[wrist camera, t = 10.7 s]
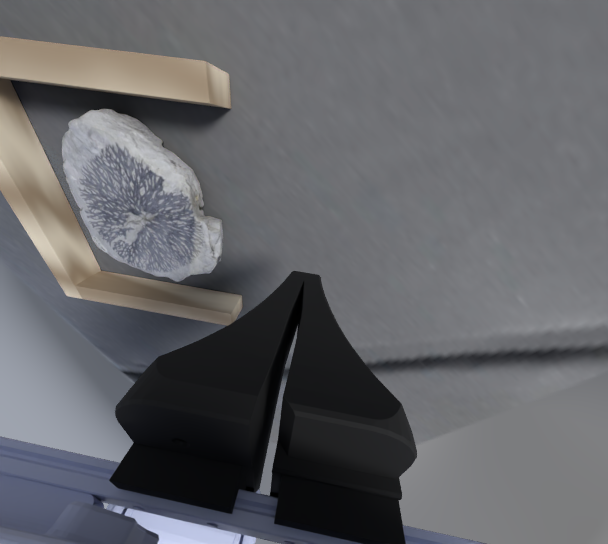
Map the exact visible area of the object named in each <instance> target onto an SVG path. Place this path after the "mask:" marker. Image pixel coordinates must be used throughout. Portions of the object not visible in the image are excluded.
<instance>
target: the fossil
mask: <svg viewBox="0 0 608 544" xmlns="http://www.w3.org/2000/svg"><path fill="white" fill-rule="evenodd" d="M68 126H69V130H68V131H67V132H66V133H65V134H64V136H63V138H62V155H63V161H64V164H63V170H64V172H65V174H66V176H67V177H66V180H67V182H68V184H69V186H70V191H71V193H72V195H73V196H74V198H75V201H76V203H77V205H78V206H79V208H80V209H81V210H80V214H81V217H82V219H83V221H84V223H85V225H86V226H87V228H88V230H89V232H90V234H91V237H92V239H93V241H94V242H95V244H96V245H97V247H98V248H100V249H101V250H102V251H104V252H106V253H108V254H109V255H110V256H111V257H113V258H114V259H116V260H118V261H119V262H122V263H126V264H128V265H130V266H131V267H134V268H138V269H140V270H142V271H144V272H146V273H150V274H152V275H154V276H157V277H161V276H163V277H168V278H170V279H172V280H174V281H176V282H179V281H182V280H184V279H185V278H186V277H188V276H190V275H197V274H204V273H208V274H209V273H211V272H212V271H213V269H214V268H215V267H216V265H217V263H218V262H220V261H221V254H222V247H223V229H222V220H221V219H218V218H214V217H211V216H205V215H204V212H203V210H202V208H203V206H204V202H203V200H202V197H203V195H202V191H201V189H200V183H199V181H198V179H197V177H196V175H195V173H194V171H193V170H192V169H191V168H190V167H189V166H188V165H187V164H185V163H184V162H183V161H182V160H181V159H180V158H179V157H178V156H177V155H175V154H174V153H173V152H171V151H170V150H168V149H166V148H163V146H162V144H163V141H162V140H161V139H160V138H158V137H157V136H155V135H154V134H153V133H152V132H151V131H150V130H149V129H148V128H147V126H146V125H144V124H143V123H141V122H140V121H139V120H138V119H136V118H133V117H130V116H128V115H127V114H119V113H117V112H115V111H114V110H112V109H100V110H90V111H88V112H87V113H85V114H84V115H82V116H81V117H79V118H78V119H73V120H71V121H70V122H69V124H68Z"/></svg>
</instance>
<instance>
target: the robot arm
mask: <svg viewBox="0 0 608 544" xmlns="http://www.w3.org/2000/svg"><path fill="white" fill-rule="evenodd" d="M297 326H298V332H297V339H296V344H295V348H294V353H293V357H292V361H291V366H290V370H289V374H288V378H287V382H286V387H285V391H284V395H283V401H282V410H281V419H280V427H279V436H278V442H277V448H276V453H275V458H274V463H273V469H272V482H271V492H270V496H268V495H263V494H261V493H260V490H259V488H260V483H261V477H262V473H263V467H264V463H265V458H266V453H267V448H268V443H269V438H270V433H271V428H272V424H273V419H274V414H275V409H276V404H277V400H278V395H279V390H280V386H281V381H282V376H283V372H284V368H285V364H286V361H287V358H288V354H289V351H290V348H291V345H292V342H293V339H294V335H295V332H296V329H297ZM115 414H116V418H117V420H118V422H119V423H120V425H121V426H122V427H123V429H124V430H125V431H126V433H127V434H128V435H129V437H130V438H131V439H132V441H133V442H134V443H133V445H132V446H131V448H130V449H129V451H128V452H127V454H126V455H125V457H124V458H123V460H122V461H121V463H118V462H114V461H109V460H105V459H100V458H95V457H90V456H86V455H82V454H77V453H73V452H68V451H64V450H59V449H54V448H50V447H45V446H41V445H36V444H31V443H27V442H22V441H18V440H14V439H9V438H5V437H0V544H255V541H256V538H260V539H264V540H268V541H273V542H277V543H281V544H486V543H481V542H476V541H473V540H468V539H463V538H459V537H454V536H450V535H445V534H441V533H436V532H431V531H427V530H423V529H417V528H413V527H409V526H404V525H403V524H402V519H401V513H400V507H399V501H398V500H401V499H402V492H401V486H400V481H399V477H400V476H401V475H402V474H403V473H404V472H405V471H406V470H407V469H408V468H409V467H410V466H411V465H412V464H413V462H414V461H415V459H416V458H417V450H416V446H415V442H414V438H413V434H412V431H411V428H410V425H409V422H408V420H407V417H406V414H405V412H404V409H403V406H402V404H401V403H400V402H399V401H398V400H397V399H396V398H395V397H394V395H393V394H392V393H391V392H390V391H389V390H388V389H387V388H386V387H385V386H384V385H383V384H382V383H381V382H380V381H379V380H378V379H377V378H376V377H375V375H374V374H373V373H372V372H371V371H370V369H369V368H368V367H367V366H366V365H365V363H364V362H363V361H362V359H361V358H360V357H359V355H358V354H357V353H356V351H355V350H354V349H353V347H352V346H351V345H350V343H349V341H348V340H347V338H346V337H345V335H344V334H343V332H342V330H341V329H340V327H339V325H338V323H337V321H336V319H335V317H334V315H333V313H332V311H331V309H330V307H329V304H328V302H327V299H326V297H325V294H324V291H323V287H322V283H321V277H320V276H319V275H316V274H310V273H304V272H298V271H293V272H291V274H290V275H289V276H288V277H287V279H286V280H285V281H284V282H283V283H282V284H281V285H280V286H279V287H278V288H277V289H276V290H275V291H274V292H273V293H272V294H271V295H270V296H269V297H267V298H266V299H265V300H264V301H263V302H262V303H260V304H259V305H258V306H257V307H255V308H254V309H253V310H251V311H250V312H248V313H247V314H245V315H244V316H243V317H241V318H239V319H238V320H236V321H235V322H233V323H231V324H230V325H228V326H226V327H224V328H223V329H221V330H219V331H217V332H215V333H213V334H211V335H209V336H207V337H205V338H203V339H201V340H199V341H196V342H194V343H192V344H189V345H187V346H185V347H182V348H180V349H177V350H175V351H172V352H170V353H167V354H165V355H162V356H159V357H158V358H157V359H156V360H155V361H154V362H153V363H152V364H151V365H150V366H149V367H148V368H147V369H146V370H145V372H144V373H143V374H142V375H141V376H140V378H139V379H138V380H137V381H136V382H135V384H134V385H133V386H132V387H131V389H130V390H129V391H128V392H127V393H126V395H125V396H124V397H123V398H122V400H121V401H120V402H119V403H118V404H117V406H116V411H115ZM102 502H104V503H108V504H109V505H108V506H107V508H106V509H104V505H103V503H102Z"/></svg>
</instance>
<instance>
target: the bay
mask: <svg viewBox="0 0 608 544" xmlns="http://www.w3.org/2000/svg"><path fill="white" fill-rule="evenodd" d="M10 80H16V81H23V82H31V83H38V84H46V85H54V86H61V87H69V88H77V89H84V90H92V91H99V92H107V93H115V94H122V95H130V96H137V97H145V98H153V99H160V100H168V101H176V102H183V103H191V104H198V105H206V106H214V107H221V108H229V109H231V98H230V81H229V74H228V73H226V72H224V71H222V70H220V69H219V68H217V67H215V66H213V65H211V64H210V63H208V62H206V61H200V60H192V59H183V58H175V57H167V56H158V55H150V54H142V53H133V52H125V51H117V50H109V49H100V48H92V47H84V46H75V45H67V44H59V43H50V42H42V41H34V40H25V39H17V38H9V37H0V190H1V192H2V193H3V195H4V197H5V198H6V200H7V201H8V203H9V205H10V206H11V208H12V209H13V211H14V213H15V214H16V216H17V217H18V219H19V220H20V222H21V224H22V225H23V227H24V228H25V230H26V232H27V233H28V235H29V236H30V238H31V240H32V241H33V243H34V244H35V246H36V247H37V249H38V251H39V252H40V254H41V255H42V257H43V259H44V260H45V262H46V263H47V265H48V267H49V268H50V270H51V271H52V273H53V275H54V276H55V278H56V279H57V281H58V282H59V284H60V286H61V287H62V289H63V290H64V292H65V294H66V295H67V296H69V297H75V298H80V299H86V300H91V301H96V302H102V303H107V304H113V305H118V306H124V307H129V308H134V309H140V310H145V311H151V312H156V313H161V314H167V315H172V316H178V317H183V318H189V319H194V320H199V321H205V322H210V323H216V324H221V325H227V326H228V325H230V324H231V323H233V322H235V320H236V318H237V317H238V315H239V313H240V311H241V309H242V308H243V305H242V295H237V294H231V293H225V292H220V291H214V290H208V289H203V288H197V287H191V286H186V285H180V284H174V283H169V282H163V281H157V280H152V279H146V278H140V277H135V276H129V275H123V274H118V273H112V272H106V271H101V269H100V267H99V265H98V263H97V261H96V259H95V257H94V255H93V252H92V250H91V248H90V246H89V244H88V242H87V240H86V238H85V236H84V234H83V232H82V229H81V227H80V225H79V223H78V221H77V219H76V217H75V215H74V213H73V211H72V209H71V206H70V204H69V202H68V200H67V198H66V196H65V194H64V192H63V190H62V188H61V185H60V183H59V181H58V179H57V177H56V175H55V173H54V171H53V169H52V167H51V165H50V162H49V160H48V158H47V156H46V154H45V152H44V150H43V148H42V146H41V144H40V142H39V139H38V137H37V135H36V133H35V131H34V129H33V127H32V125H31V123H30V121H29V119H28V116H27V114H26V112H25V110H24V108H23V106H22V104H21V102H20V100H19V98H18V96H17V93H16V91H15V89H14V87H13V85H12V83H11V81H10Z"/></svg>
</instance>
